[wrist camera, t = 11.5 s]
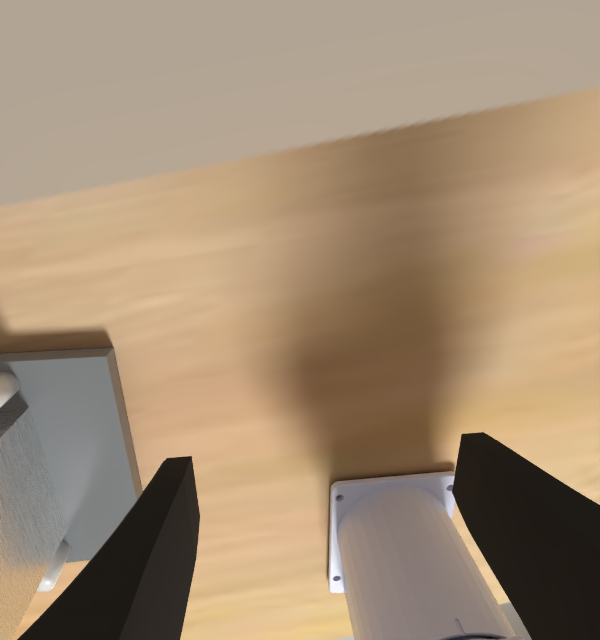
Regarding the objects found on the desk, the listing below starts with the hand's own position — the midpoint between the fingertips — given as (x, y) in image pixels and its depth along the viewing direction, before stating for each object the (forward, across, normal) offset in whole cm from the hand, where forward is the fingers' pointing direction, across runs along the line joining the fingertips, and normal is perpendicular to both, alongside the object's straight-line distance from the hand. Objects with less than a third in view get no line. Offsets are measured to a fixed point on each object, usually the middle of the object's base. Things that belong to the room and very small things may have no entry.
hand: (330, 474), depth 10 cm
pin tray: (+10, +15, +7) cm, 20 cm away
